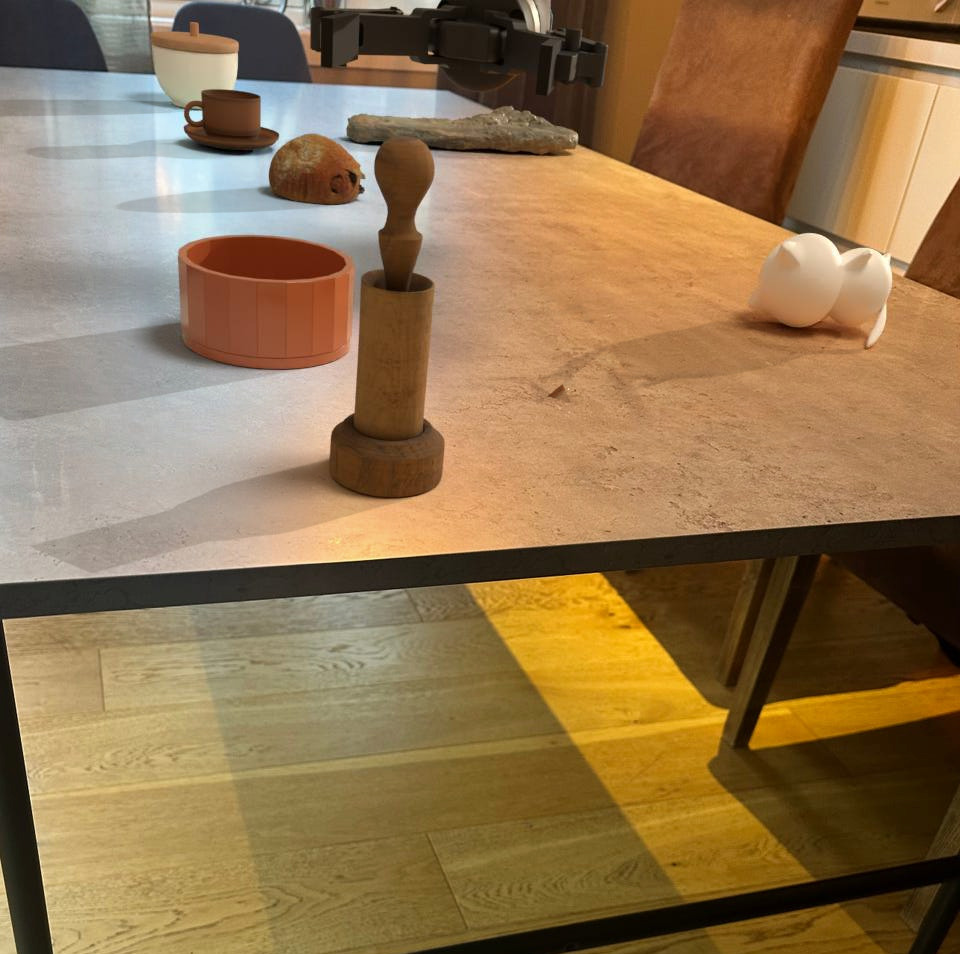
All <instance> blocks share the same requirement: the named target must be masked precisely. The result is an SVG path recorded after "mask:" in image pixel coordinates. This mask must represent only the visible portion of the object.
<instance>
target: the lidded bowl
mask: <svg viewBox="0 0 960 954" xmlns="http://www.w3.org/2000/svg"><path fill="white" fill-rule="evenodd" d="M149 42H150V44H151V56H152V62H153V64H152V65H153V70H154V73H155V77H156V80H157V82H158V84H159V86H160V88H161V90H162V91H163V92H164V94H165V95H166V96H167V97H168V99H170V100H171V102H172V105H173V106H176V107H179V108H184V109H185V107H186V105H187V104H188V103H189V102H191V101H202V98H201V91H203V90H209V89H225V90H235V86H236V82H237V77H238V68H239V54H238V53H239V51H240V50H239V49H240V48H239V47H240V45H239V41H237V40H236V39H233V38H230V37H225V36H220V35H214V34H209V33H207V34H206V33H200V29H199V23H198V22H196V21H195V22H193V21H190V22H189V32H187V31H154V32H151V33H150V35H149ZM190 110H200V111H202V108H200V107H197V106H195V107H192V108H191V109H190Z"/></svg>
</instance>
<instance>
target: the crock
mask: <svg viewBox="0 0 960 954" xmlns="http://www.w3.org/2000/svg"><path fill="white" fill-rule="evenodd" d="M177 267H178V268H177V269H178V285H179V286H178V287H179V288H178V289H179V306H180V307H179V308H180V309H179V310H180V328H181V338H182V342H183V343H184V345H185V346H186V347H187V348H188V349H189V350H191V351H192V352H193V353H195V354H197V355H199V356H201V357H204V358H206V359H209V360H212V361H216V362H219V363H223V364H227V365H232V366H237V367H244V368H252V369H261V370H262V369H263V370H264V369H265V370H266V369H267V370H290V369H291V370H292V369H303V368H311V367H317V366H321V365H326V364H328V363H332V362H335V361H337V360H339V359H341V358H342V357H345V355H346V354H348V353H349V351H350V349H351V345H352V337H353V319H354V318H353V317H354V313H353V312H354V292H355V291H354V290H355V267H356V266H355V263H354V261H353V259H352V256H350V255H348V254H346V253H345V252H344V251H342V250H340V249H337V248H334V247H332V246H329V245H326V244H323V243H320V242H314V241H310V240H307V239H306V240H305V239H301V238H294V237H286V236H279V235H277V236H276V235H266V234H265V235H264V234H226V235H218V236H211V237H210V236H209V237H203V238H200V239H199V238H198V239H196V240H193V241H190V242H187V243H185V244H184V245H182V246H181V247H180V248H178V251H177Z"/></svg>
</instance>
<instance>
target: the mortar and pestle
mask: <svg viewBox="0 0 960 954" xmlns="http://www.w3.org/2000/svg"><path fill="white" fill-rule="evenodd" d="M374 157H375V158H374V163H373V173H374V177H375V181H376V184H377V186H378V188H379V190H380V193H381V195H382V197H383V199H384V201H385V204H386V209H387V215H386V220H385V223H384V226H383V227H382V228H381V229H379V230H378V232H377V237H378V239H377V240H378V246H379V247H378V248H379V253H380V258H381V263H382V267H383V268H381V269H380V268H379V269H373V270H370V271H367V272H365V273H363V274H362V275H361V276H360V298H359V323H358V324H359V325H358V345H357V364H356V378H355V379H356V381H355V399H354V400H355V401H354V412H353V413H351V414H349V415H347V417H346V418H344V419H343V420H342V421H340V422H339V423H337V424H336V425H335V426H334V427H333V429H332V431H331V433H330V444H329V445H330V446H329V447H330V448H329V462H328V463H329V465H328V466H329V467H328V468H329V473H330V475H331V477H332V478H333V479H334V480H335V481H336V482H337V483H338V484H340V485H341V486H343V487H345V488H348V489H350V490H352V491H354V492H357V493H359V494H364V495H367V496H372V497H379V498H380V497H381V498H403V497H409V496H410V497H411V496H417V495H420V494H424V493H426V492H429V491H430V490H433V489H435V488H436V487H437V486H438V485H439V484H440V482H441V481H442V478H443V471H444V461H445V460H444V458H445V447H446V446H445V445H446V443H445V438H444V436H443V435H442V434H441V432H439V430H437V429H436V428H435V427H434V426H433V424H432V423H431V422H430V421H429V420H428V419H426V418H425V405H426V393H427V382H428V370H429V359H430V348H431V347H430V345H431V335H432V334H431V333H432V321H433V310H434V300H435V289H436V286H435V282H434V281H433V280H432V279H431V278H429V277H427V276H426V275H423V274H419V273H417V272H414V269H415V267H416V264H417V261H418V258H419V255H420V253H421V252H420V251H421V249H422V244H423V239H424V235H423V234H422V233H421V232H420V231H419V230H417V226H416V220H415V219H416V215H417V212H418V211H417V210H418V208H419V206H420V205H421V203H422V202H423V200H424V198H425V196H427V193H428V191H429V189H430V188H431V186H432V184H433V182H434V179H435V173H436V171H435V169H436V167H435V160H434V158H433V157H434V156H433V154H432V152H431V150H430V148H429V146H426V144H424V143H423V142H422V141H421V140H419V139H417V138H412V137H406V136H398V137H394V138H391V139H388V140H387V141H385V142H382V144H381V145H380V147H379V148H378V150H377V152H376V154H375V156H374Z"/></svg>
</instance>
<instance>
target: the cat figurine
mask: <svg viewBox="0 0 960 954" xmlns="http://www.w3.org/2000/svg"><path fill="white" fill-rule="evenodd" d="M890 263H891V252H888V253H884V254H883V255H882V254H881V252H879V251H877V250H875V249H873V248H869V247H858V248H853V249H850V250H847V251H845V252H843V253H841V254H840V252H839V250H838V248H837V247H836V245H835V244H834V243H833V242H832V241H831V240H830V239H829V238H827V237H826V236H825V235H821V234H818V233H812V232H805V233H800V234H797V235H793V236H791V237H789V238H787V239H785V240H784V241H782V242H781V243H778V244H777V246H776V247H774V249H772V250H771V252H770V253H769V254H768V255H767V257H766V258H765V259H764V261H763V263H762V265H761V267H760V269H759V270H760V271H759V274H758V278H757V279H758V280H757V286H756V288H755V289H754V291H753V292H752V293H751V295H750V296H749V297H748V299H747V300H746V306H747V307H748V308H749V309H752V310H755V311H758V312H763V313H765V314H766V313H767V314H769V315H771V316H772V317H773V318H774V319H775V320H777V321H778V322H779V323H781V324H783V325H785V326H788V327H791V328H806V327H810V326H812V325H814V324H816V323H818V322H820V321H827V319H828V318H830V319H832V320H833V321H834V322H836V323H838V324H839V325H842V326H845V327H848V328H849V327H859V326H861V325H863V324H866V323H867V322H869V321H870V320H872V319H873V318H874V317H875V316H877V314H878V316H877V318H876V321H875V322H874V325H873V327H872V329H871V331H870V333H869V336H868V338H867V340H866V344H865V347H866V346H867V347H870V346H871V347H872V346H873V345H874V344H875V343H876V342H877V341H878V339H879V337H880V336H881V335H882V333H883V330H884V328H885V326H886V320H887V300H888V298H889V297H890V294H891V291H892V287H893V285H892V284H893V273H892V269H891V266H890ZM821 319H822V320H821ZM867 347H866V348H867ZM871 347H870V348H871Z"/></svg>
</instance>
